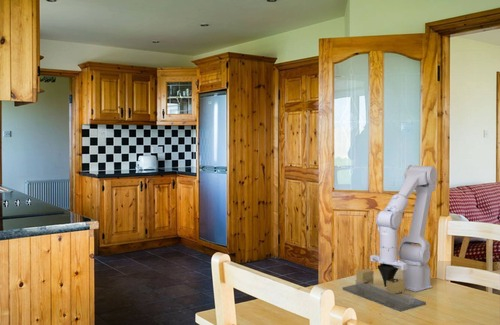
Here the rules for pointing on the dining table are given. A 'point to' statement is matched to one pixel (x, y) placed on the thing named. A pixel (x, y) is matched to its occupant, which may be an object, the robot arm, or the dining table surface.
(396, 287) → the tan holed block
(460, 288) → the dining table surface
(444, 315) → the dining table surface
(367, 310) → the dining table surface
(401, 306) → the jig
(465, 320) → the dining table surface
